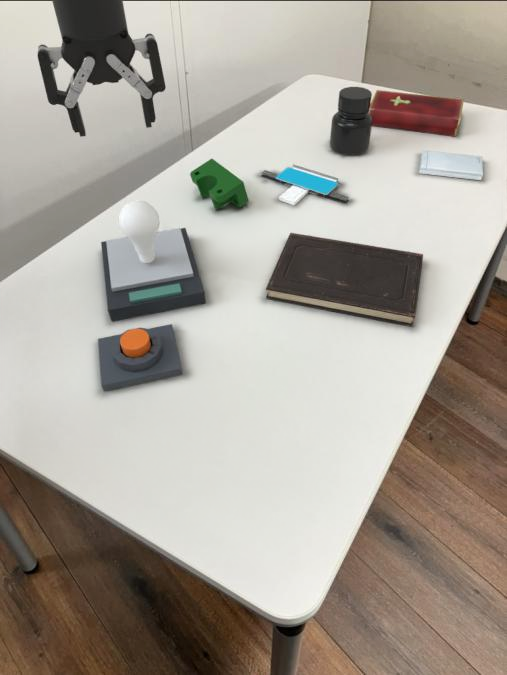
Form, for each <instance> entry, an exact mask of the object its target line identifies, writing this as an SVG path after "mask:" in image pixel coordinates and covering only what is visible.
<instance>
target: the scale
mask: <svg viewBox="0 0 507 675" xmlns="http://www.w3.org/2000/svg"><path fill="white" fill-rule="evenodd" d="M100 244H101V255H102V264H103V273H104V274H103V275H104V276H103V277H104V286H105V296H106V305H107V312H108V315H109V319H110V321H111V322H116V321H122V320H126V319H127V320H128V319H132V318H137V317H141V316H147V315H152V314H157V313H163V312H167V311H168V312H169V311H172V310H178V309H182V308H183V309H184V308H188V307H194V306H199V305H203V304H207V300H206V292H205V289H204V285H203V282H202V278H201V275H200V272H199V268H198V265H197V262H196V259H195V255H194V251H193V249H192V244H191V241H190V239H189V235H188V232H187V229H186V227H182V228H181V227H177V228H171V229H165V230H160V231H159V230H158V231H157V233H156V236H155V249H154V251H155V259H154V261H152V262H150V263H143V262H141V261H140V258H139V255H138V252H137V251H136V249H135V246H134V244H133V242H132V241H131V240H130V239H129V238H128V237H127V236H123V237H118V238H112V239H106V240H104V241H101V243H100Z"/></svg>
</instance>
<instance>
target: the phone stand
mask: <svg viewBox="0 0 507 675" xmlns="http://www.w3.org/2000/svg"><path fill="white" fill-rule="evenodd" d="M260 177H263V178H265V179H268V180H270V181H274V182H276V183H280V184H283V185H285V186H288V187H289V188H287V189H286V190H285V191H284V192H283V193H282V194H281V195H280V196H278V201H280V202H283V203H286V204H289V205H292V206H295V205H297V204H298V203H299V202H300V201H301V200H302V199H303V198H304V197H305V196H307V195H308V193H310V194H313V195H315V196H316V195H317V196H319V197H322V198H325V199H329V200H332V201H334V202H339V203H342V204H347V203H348V202H349V201H350V196H347V195H345V194H341V193H338V192H335V190H336V189H338V188H339V187H340V186H341V182H339V178H338V177H335V176H332V175H329V174H325V173H322V172H319V171H316V170H314V169H310V168H306V167H303V166H300V165H297V164H292V166H291V167H290V166H289V167H286V168H285V169H284V170H282V171H281V172H279V173H276V172H272V171H270V170H267V169H265V170H263V171H262V172H261V175H260Z"/></svg>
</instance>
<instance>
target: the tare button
mask: <svg viewBox="0 0 507 675" xmlns="http://www.w3.org/2000/svg"><path fill="white" fill-rule="evenodd" d="M130 329H131V330H130ZM130 329H128V330H129V331H127V330H126V331H127V332H125V331H124V332H125V333H124V332H123V333H124V334H123V335H122V336H121V339H120V344H121V347H122V350H123V353H124V354H125V355H126V356H128V357H131V358H137V357H141V356H144V355H145V354H147V353H148V352H149V350H150V348H151V342H150V338H149V335H148V333H147V332H146V331H145V330H142V329H135V328H130Z"/></svg>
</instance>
